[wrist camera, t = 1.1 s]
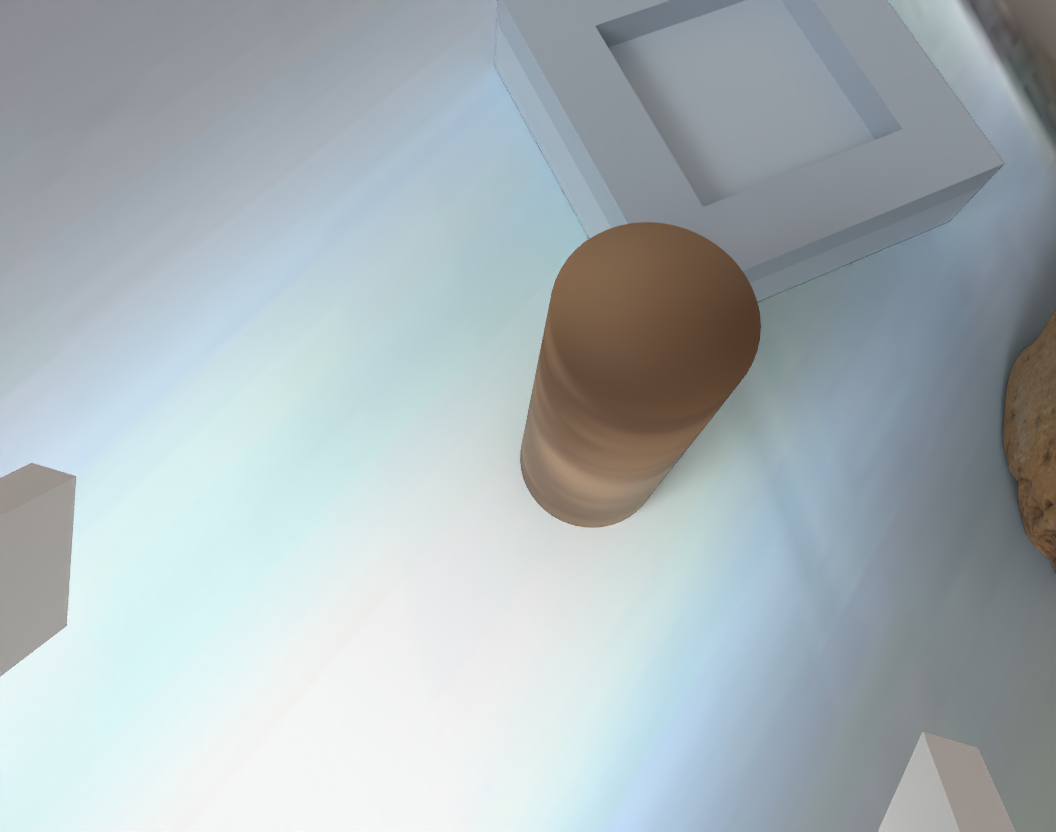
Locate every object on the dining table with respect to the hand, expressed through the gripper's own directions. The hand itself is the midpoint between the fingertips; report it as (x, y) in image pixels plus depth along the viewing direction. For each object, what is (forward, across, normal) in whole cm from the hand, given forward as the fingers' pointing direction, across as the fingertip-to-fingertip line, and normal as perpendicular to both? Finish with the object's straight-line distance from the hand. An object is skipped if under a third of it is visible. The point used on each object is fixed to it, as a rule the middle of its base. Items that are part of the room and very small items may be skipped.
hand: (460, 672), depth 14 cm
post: (+19, 0, -3) cm, 19 cm away
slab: (+28, +2, +8) cm, 30 cm away
